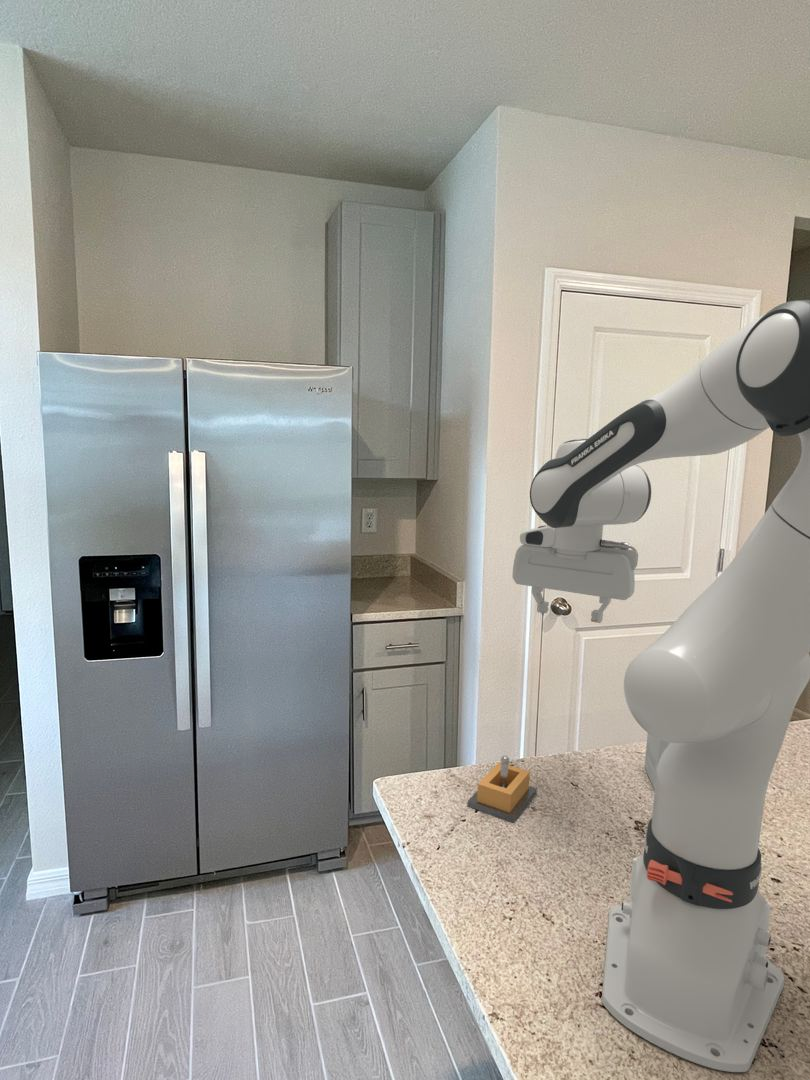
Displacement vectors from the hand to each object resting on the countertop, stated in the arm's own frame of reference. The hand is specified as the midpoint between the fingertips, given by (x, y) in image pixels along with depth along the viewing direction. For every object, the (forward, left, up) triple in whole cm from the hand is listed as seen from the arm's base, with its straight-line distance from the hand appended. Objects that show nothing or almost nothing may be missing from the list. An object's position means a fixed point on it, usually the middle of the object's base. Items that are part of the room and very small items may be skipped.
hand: (568, 616), depth 110 cm
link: (-13, +5, -28) cm, 31 cm away
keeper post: (-13, +5, -29) cm, 32 cm away
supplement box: (+10, -18, -29) cm, 36 cm away
